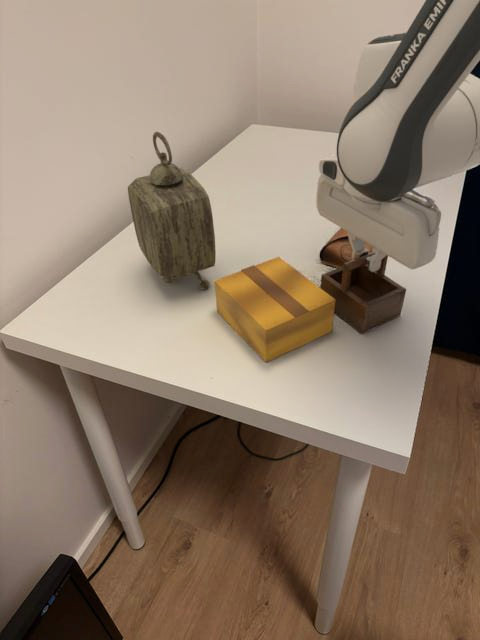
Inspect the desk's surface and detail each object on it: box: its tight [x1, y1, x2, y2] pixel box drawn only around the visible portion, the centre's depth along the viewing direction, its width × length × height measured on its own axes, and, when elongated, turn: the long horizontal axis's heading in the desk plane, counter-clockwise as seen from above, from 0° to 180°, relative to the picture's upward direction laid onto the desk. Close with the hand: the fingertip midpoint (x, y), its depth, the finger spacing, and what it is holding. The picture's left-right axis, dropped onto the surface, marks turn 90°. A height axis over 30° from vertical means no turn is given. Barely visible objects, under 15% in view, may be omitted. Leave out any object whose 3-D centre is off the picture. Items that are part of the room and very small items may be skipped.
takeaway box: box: [214, 256, 335, 363], centre depth 73 cm, size 14×12×6 cm
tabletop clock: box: [127, 131, 216, 290], centre depth 77 cm, size 14×9×25 cm, turn 27°
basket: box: [320, 252, 407, 335], centre depth 74 cm, size 10×8×10 cm
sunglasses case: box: [318, 227, 373, 269], centre depth 90 cm, size 18×7×7 cm, turn 147°
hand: (365, 264), depth 72 cm, fingers closed on basket
